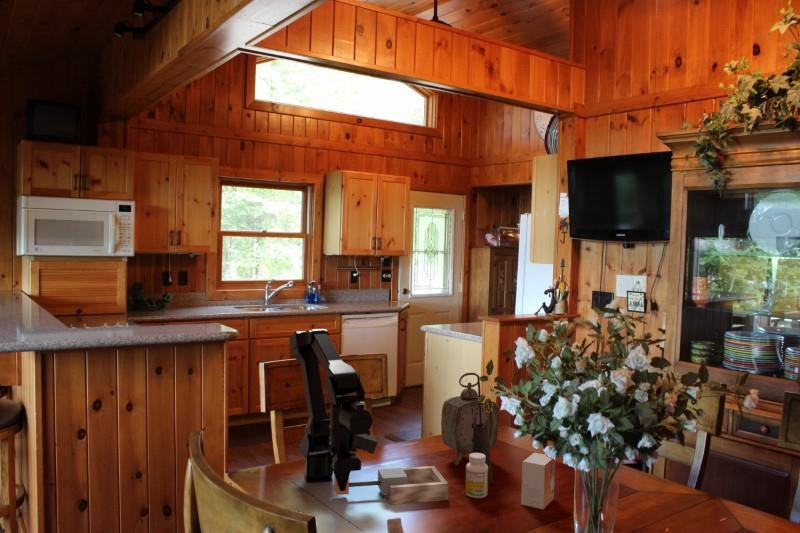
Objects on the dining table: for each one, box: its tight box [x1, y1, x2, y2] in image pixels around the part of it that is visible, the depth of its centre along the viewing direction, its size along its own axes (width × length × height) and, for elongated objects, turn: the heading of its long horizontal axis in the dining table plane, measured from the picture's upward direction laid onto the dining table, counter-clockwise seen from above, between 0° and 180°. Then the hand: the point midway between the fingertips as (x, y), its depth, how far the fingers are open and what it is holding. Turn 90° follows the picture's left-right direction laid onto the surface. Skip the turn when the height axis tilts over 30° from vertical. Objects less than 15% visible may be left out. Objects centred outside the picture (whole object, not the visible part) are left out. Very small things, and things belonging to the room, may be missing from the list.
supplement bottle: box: [465, 453, 489, 499], centre depth 155 cm, size 5×5×10 cm
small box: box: [520, 452, 556, 510], centre depth 152 cm, size 8×6×10 cm
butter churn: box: [472, 374, 493, 486], centre depth 164 cm, size 9×10×28 cm
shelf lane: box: [385, 465, 449, 505], centre depth 156 cm, size 14×12×4 cm
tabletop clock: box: [440, 372, 499, 466], centre depth 180 cm, size 14×9×25 cm, turn 118°
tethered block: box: [333, 467, 407, 496], centre depth 153 cm, size 17×6×4 cm, turn 103°
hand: (341, 487), depth 152 cm, fingers closed on tethered block, 4 cm apart
